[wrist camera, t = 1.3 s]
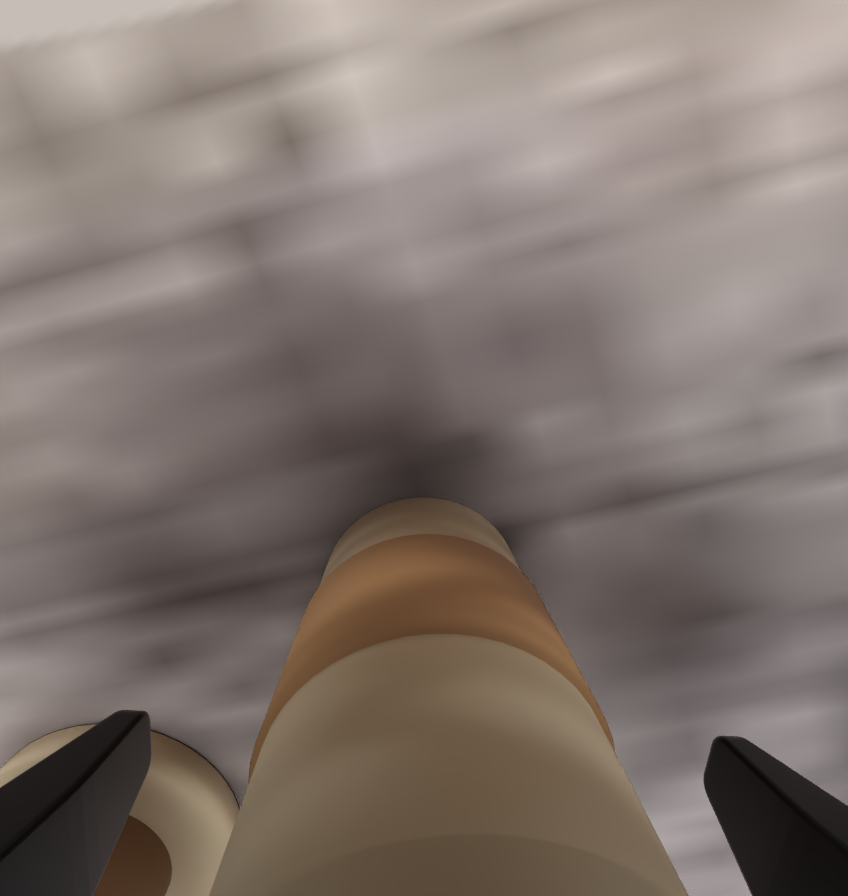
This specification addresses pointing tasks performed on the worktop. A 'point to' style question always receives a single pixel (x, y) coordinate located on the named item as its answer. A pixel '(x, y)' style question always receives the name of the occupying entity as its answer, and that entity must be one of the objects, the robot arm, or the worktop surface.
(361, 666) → the copper spool
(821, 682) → the worktop surface
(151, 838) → the bobbin
